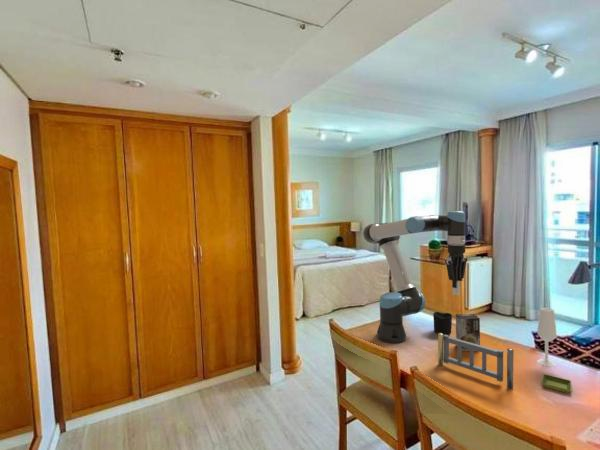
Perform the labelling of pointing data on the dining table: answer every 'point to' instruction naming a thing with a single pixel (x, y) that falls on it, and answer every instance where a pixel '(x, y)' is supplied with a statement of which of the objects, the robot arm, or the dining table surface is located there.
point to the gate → (471, 366)
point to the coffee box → (468, 329)
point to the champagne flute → (546, 332)
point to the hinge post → (510, 368)
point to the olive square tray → (556, 383)
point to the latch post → (440, 349)
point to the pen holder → (442, 323)
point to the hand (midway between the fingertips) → (456, 294)
